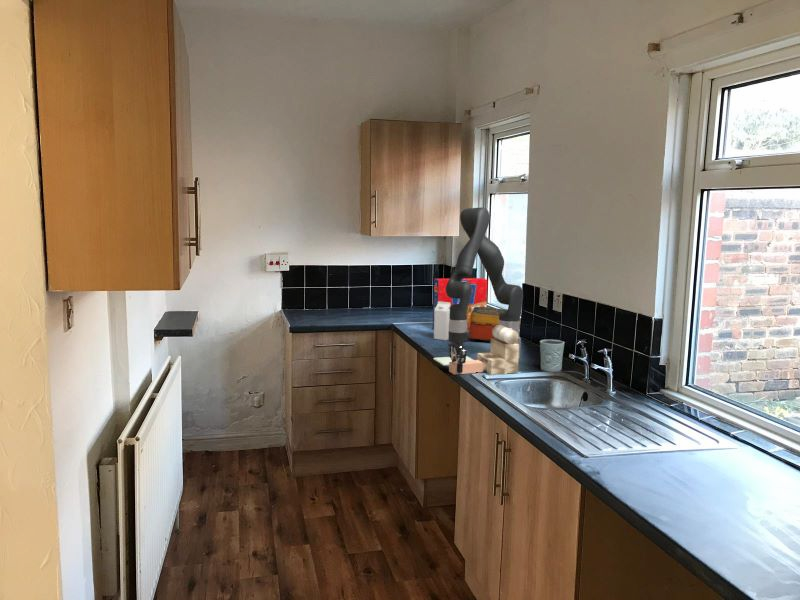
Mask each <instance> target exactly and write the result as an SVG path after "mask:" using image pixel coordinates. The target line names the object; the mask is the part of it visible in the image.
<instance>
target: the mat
mask: <svg viewBox="0 0 800 600" xmlns="http://www.w3.org/2000/svg"><path fill="white" fill-rule="evenodd" d="M463 359H464V358H463ZM433 360H434V361H435V362H437V363H439V364H440V365H442V366H449V362H452V360H451V358H450V357H449V356H442V357H433ZM470 360H474V359H473V358H472V357H469V356H467V355H466V361H470Z"/></svg>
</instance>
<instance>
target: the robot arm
mask: <svg viewBox="0 0 800 600" xmlns="http://www.w3.org/2000/svg"><path fill="white" fill-rule="evenodd" d="M459 218H460V220H459V221H460V224H461V226H462V228H463V231H465V233H466V235H467V236H468V238H469V240H468V241H467V242H466V243H465V245H464V246H463V248H462V249H461V250H460V252H459V254H458V256H457V260H456V264H455V268H454V270H453V272H452V274H451V276H450V277H449V278H450V279H449V281H448V283H447V285H446V294H447V296H448V297H450V298H457V299H461V301H460V303H459V304H453V305H451V306H450V319H449V337H448V340H447V341H448V342H449V343H448V357H450V358H451V360H452V362H457V373H462V371H463V363H465V362H466V356H467V352H468V350H467V349H465V347H464V343H467V342H468V331H467V308H468V304H469V301H470V297H471V294H472V286H471V284H470V283H468V282H462V281H461V280H462V279H464V278H471V276H472V274H473V270H474V266H475V261H476V258H477V255H478V258H479V259H480V261H481V264H482V266H483V268H484V270H485V272H486V274H487V277H488V279H489V281H490V284H491V286H492V290H493V292H494V295H495V298H496V300H497V302H498V303H499V304H502V305H508V307H507V311H506V312H502V313H500V314H499V325H502V326H504V327H507V328H509V329H512V330H514V331H516V332H517V333H518V340H517V342H516V344H519V357H518V359H520V358H521V344H522V343H521V341H522V339H521V337H520V322H521V321H520V320H521V316H522V311H523V303H524V302H523V300H524V291H523V288H522V287H521V286H520V285H516V284H509V283H507V282H506V281H505V279H504V276H503V271H504V267H505V258H504V256H503V254H502V252H501V250H500V248H499V247H498V245H496V243H495V242H493V241H492V240H491V239H490V238H488V237H487V236H486V232H487V231H488V229H489V225H490V219H491V216H490V213H489V210H488V209H487V208H485V207H481V206H480V207H470V208H469V207H468V208H464V209H462V210H461V212H460V216H459ZM463 358H464V359H463Z"/></svg>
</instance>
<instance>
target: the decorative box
mask: <svg viewBox="0 0 800 600" xmlns="http://www.w3.org/2000/svg"><path fill="white" fill-rule="evenodd" d="M507 310H508V308H507V309H503V308H495V307H494V308H493V307H487V306H486V307H474V309H473V311H472V312H471V317H470V331H468V332H469V333H468V339H470V341H473V342H476V341H482V342H483V341H484V342H487V343H491V339H494V337H493V335H492V330H493V328H494V327H495V326H496V325H499V314H500V313H502V312H506V311H507Z"/></svg>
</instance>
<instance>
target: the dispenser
mask: <svg viewBox="0 0 800 600" xmlns="http://www.w3.org/2000/svg"><path fill="white" fill-rule="evenodd" d="M492 335H493V337H494V339H491V342H490V351H489V352H477V353H476V355H477V356H476V360H479V361H481V362H483V370H486V374H488V373H489V374H488V375H490V374H492V375H491V376H494V375H493V374H501V375H508V374H507V373H516V374H518V373H519V358H518V357H519V344H516V342H517V340H518V333H517V332H516V331H514V330H512V329H509V328H507V327H504V326H502V325H496V326H495V327H494V328H493V330H492Z"/></svg>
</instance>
